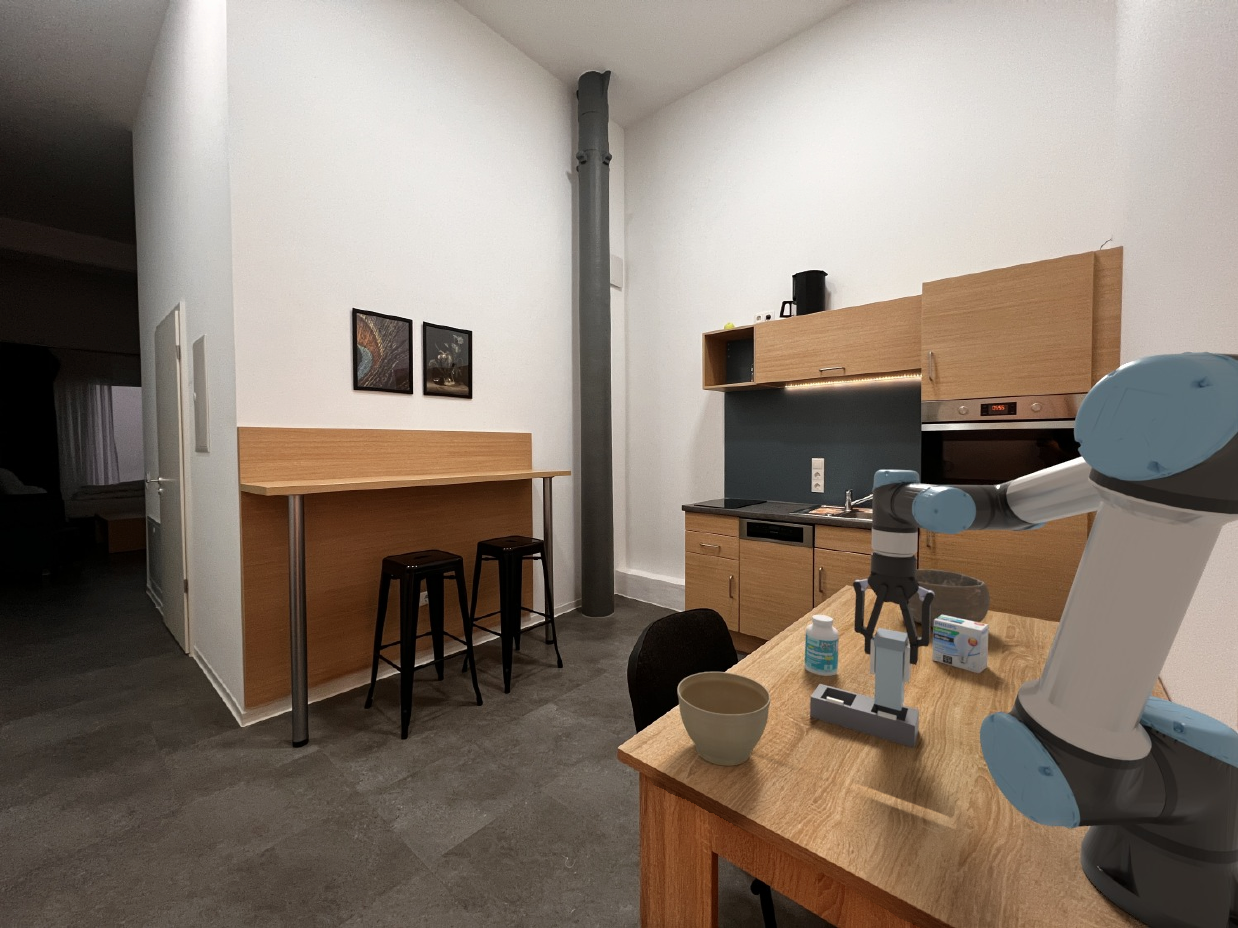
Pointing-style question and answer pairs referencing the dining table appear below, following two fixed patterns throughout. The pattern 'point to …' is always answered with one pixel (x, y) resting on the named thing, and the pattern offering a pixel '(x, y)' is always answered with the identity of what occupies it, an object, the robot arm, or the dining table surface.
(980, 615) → the bowl
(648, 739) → the dining table surface
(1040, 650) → the dining table surface
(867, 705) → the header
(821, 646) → the pill bottle
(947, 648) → the light bulb box
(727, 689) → the planter bowl
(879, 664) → the plug
